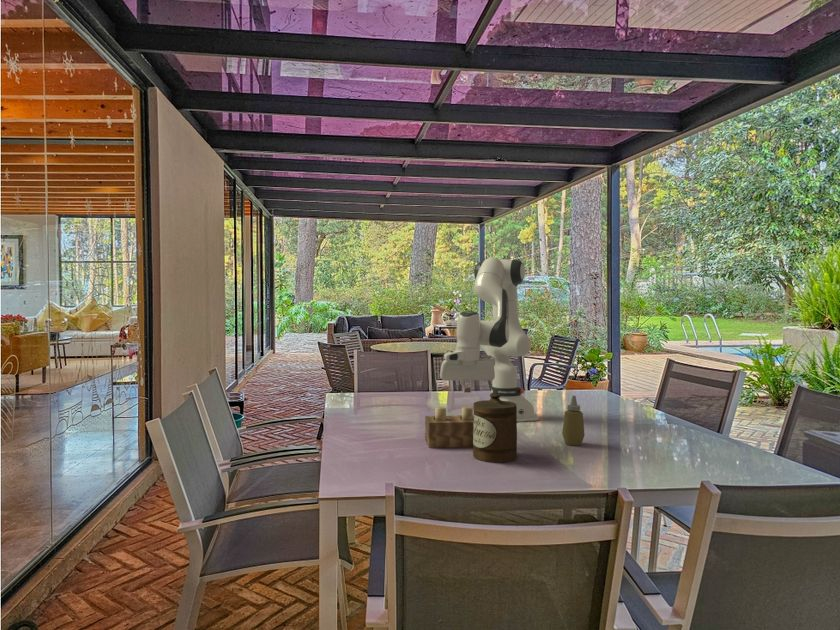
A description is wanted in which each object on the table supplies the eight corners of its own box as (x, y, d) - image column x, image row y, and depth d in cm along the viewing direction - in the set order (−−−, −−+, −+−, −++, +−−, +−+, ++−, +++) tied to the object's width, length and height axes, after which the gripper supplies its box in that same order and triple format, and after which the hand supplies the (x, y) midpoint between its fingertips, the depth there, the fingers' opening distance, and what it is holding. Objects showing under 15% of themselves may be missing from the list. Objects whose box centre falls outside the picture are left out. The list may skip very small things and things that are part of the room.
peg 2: (471, 428, 218) (471, 406, 217) (473, 430, 214) (473, 408, 213) (460, 428, 217) (461, 407, 217) (462, 430, 213) (463, 409, 213)
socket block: (476, 438, 222) (477, 415, 222) (483, 446, 210) (483, 421, 210) (425, 439, 220) (425, 415, 220) (429, 447, 208) (429, 422, 208)
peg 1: (445, 428, 216) (445, 407, 216) (446, 431, 212) (446, 409, 212) (434, 428, 216) (434, 407, 216) (435, 431, 212) (436, 409, 212)
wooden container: (465, 453, 201) (465, 390, 200) (502, 449, 207) (502, 387, 206) (486, 464, 188) (487, 397, 187) (525, 460, 193) (526, 394, 193)
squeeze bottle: (572, 447, 209) (573, 398, 209) (557, 442, 216) (558, 394, 216) (589, 445, 213) (590, 396, 212) (573, 440, 220) (574, 393, 220)
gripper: (493, 354, 219) (492, 391, 219) (439, 354, 216) (439, 391, 217) (497, 356, 212) (496, 393, 213) (442, 355, 210) (441, 393, 211)
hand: (467, 392), depth 215 cm, fingers closed
